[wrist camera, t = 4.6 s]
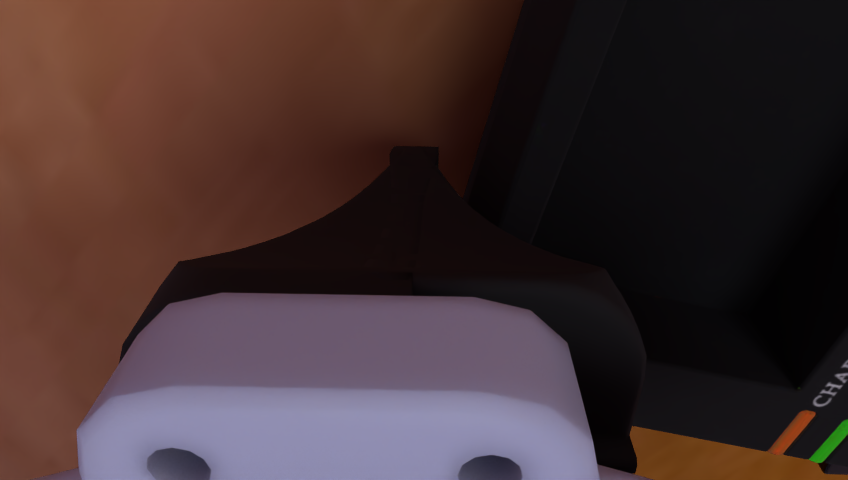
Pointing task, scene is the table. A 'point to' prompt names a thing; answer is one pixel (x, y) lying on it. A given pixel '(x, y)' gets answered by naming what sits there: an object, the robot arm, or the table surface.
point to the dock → (833, 468)
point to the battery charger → (693, 198)
